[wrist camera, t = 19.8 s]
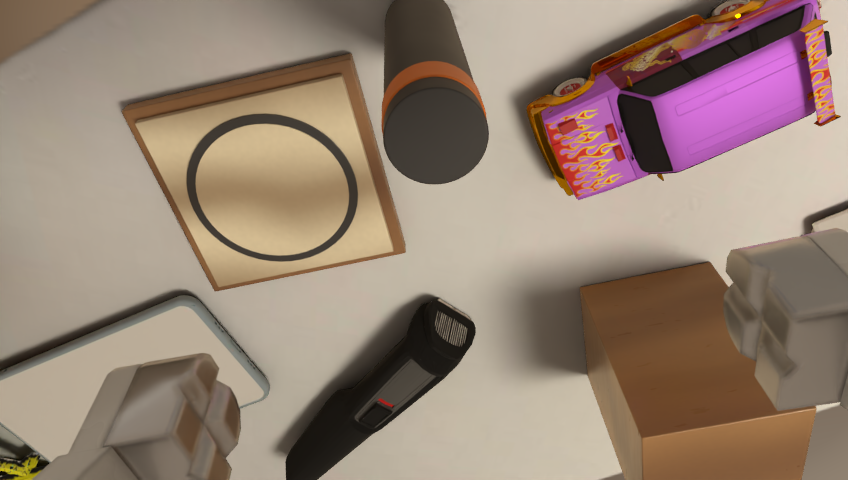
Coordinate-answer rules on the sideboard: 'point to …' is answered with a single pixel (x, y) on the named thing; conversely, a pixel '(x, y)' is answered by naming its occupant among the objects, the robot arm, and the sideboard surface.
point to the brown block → (684, 383)
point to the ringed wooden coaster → (272, 172)
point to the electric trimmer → (383, 390)
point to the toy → (20, 468)
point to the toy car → (687, 95)
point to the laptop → (832, 222)
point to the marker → (429, 95)
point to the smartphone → (103, 352)
